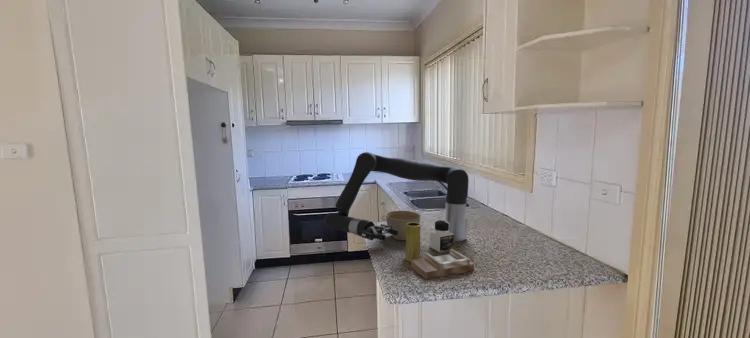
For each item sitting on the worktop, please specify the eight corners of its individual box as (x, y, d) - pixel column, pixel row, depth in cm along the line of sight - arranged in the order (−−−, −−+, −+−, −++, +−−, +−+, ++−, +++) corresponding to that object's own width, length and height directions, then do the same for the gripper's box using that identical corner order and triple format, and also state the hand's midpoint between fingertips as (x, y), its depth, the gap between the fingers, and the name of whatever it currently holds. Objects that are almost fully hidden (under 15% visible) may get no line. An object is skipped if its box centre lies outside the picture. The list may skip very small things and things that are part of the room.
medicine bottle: (439, 252, 139) (440, 224, 138) (429, 247, 145) (430, 220, 144) (453, 250, 142) (454, 222, 141) (442, 244, 149) (443, 218, 147)
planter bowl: (386, 243, 150) (387, 219, 148) (384, 232, 166) (384, 210, 164) (422, 243, 150) (423, 219, 149) (417, 231, 166) (417, 210, 165)
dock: (455, 259, 132) (456, 248, 132) (473, 270, 122) (474, 258, 122) (410, 266, 125) (411, 255, 124) (425, 279, 115) (426, 266, 114)
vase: (403, 256, 135) (404, 222, 133) (418, 256, 135) (419, 221, 134) (406, 262, 129) (407, 226, 127) (422, 262, 129) (423, 226, 127)
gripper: (350, 223, 142) (381, 230, 132) (371, 216, 153) (401, 222, 143) (350, 240, 142) (380, 249, 132) (371, 232, 154) (401, 239, 144)
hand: (391, 235), depth 138 cm, fingers open, 8 cm apart
